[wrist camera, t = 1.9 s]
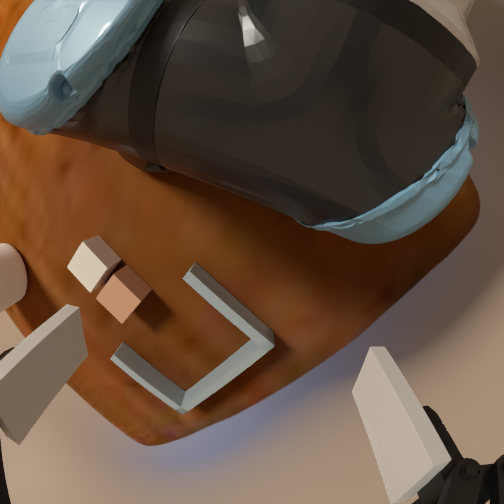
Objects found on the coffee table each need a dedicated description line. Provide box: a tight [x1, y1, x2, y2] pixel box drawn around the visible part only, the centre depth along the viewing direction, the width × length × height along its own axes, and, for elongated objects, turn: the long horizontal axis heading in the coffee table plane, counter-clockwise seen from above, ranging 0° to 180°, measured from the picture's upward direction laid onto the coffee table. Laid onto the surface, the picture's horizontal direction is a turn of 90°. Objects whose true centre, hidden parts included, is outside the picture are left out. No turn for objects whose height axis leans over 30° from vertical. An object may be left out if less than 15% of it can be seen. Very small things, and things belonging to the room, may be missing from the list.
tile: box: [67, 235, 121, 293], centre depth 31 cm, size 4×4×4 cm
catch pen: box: [111, 263, 275, 414], centre depth 33 cm, size 13×18×4 cm
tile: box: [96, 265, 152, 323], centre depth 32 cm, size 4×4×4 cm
